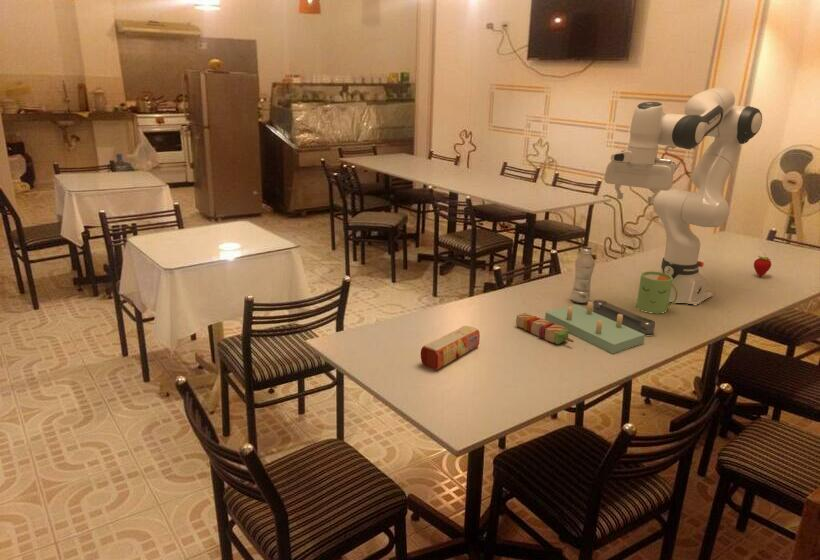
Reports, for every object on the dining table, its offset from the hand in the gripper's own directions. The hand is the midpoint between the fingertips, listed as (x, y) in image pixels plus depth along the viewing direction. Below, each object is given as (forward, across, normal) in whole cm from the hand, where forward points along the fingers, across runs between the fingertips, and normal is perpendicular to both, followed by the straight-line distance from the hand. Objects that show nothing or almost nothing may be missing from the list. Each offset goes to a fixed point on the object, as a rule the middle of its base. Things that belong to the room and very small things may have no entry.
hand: (634, 200), depth 192 cm
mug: (+40, -9, -14) cm, 43 cm away
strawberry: (+39, -35, -77) cm, 93 cm away
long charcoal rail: (+40, -3, +5) cm, 40 cm away
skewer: (+40, +14, +30) cm, 52 cm away
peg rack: (+40, +3, +18) cm, 44 cm away
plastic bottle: (+40, +15, -5) cm, 43 cm away
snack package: (+40, +30, +59) cm, 78 cm away
